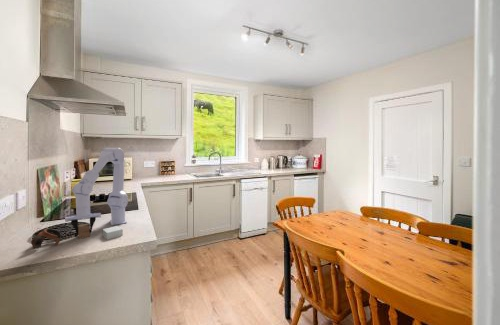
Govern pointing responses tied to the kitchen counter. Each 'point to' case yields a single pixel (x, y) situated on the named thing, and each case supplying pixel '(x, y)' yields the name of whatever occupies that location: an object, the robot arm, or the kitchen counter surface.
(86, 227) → the walnut block
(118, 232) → the base block
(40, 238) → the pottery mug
